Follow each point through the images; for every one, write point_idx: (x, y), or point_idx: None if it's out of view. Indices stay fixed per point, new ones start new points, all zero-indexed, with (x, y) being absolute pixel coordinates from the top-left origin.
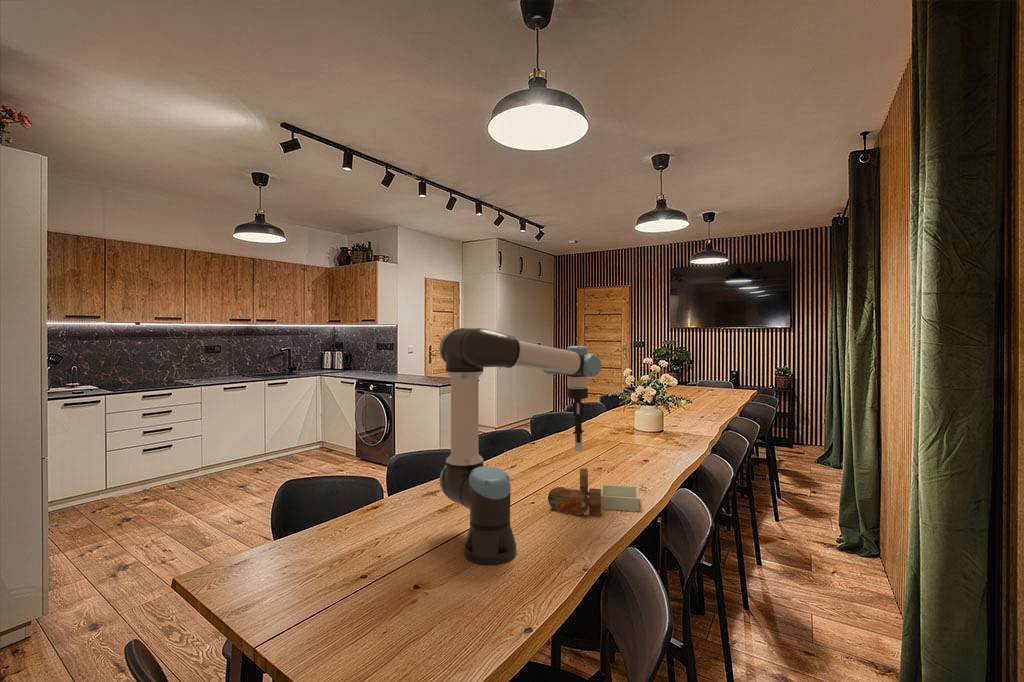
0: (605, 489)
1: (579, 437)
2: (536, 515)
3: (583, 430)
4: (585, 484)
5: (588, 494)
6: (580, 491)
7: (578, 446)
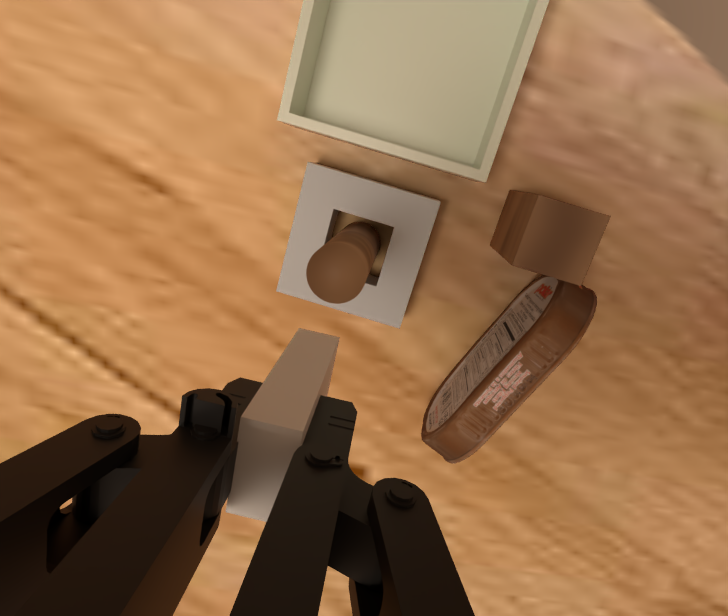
0: (298, 101)
1: (347, 450)
2: (506, 481)
3: (189, 399)
4: (372, 253)
5: (334, 215)
6: (559, 332)
7: (324, 392)
